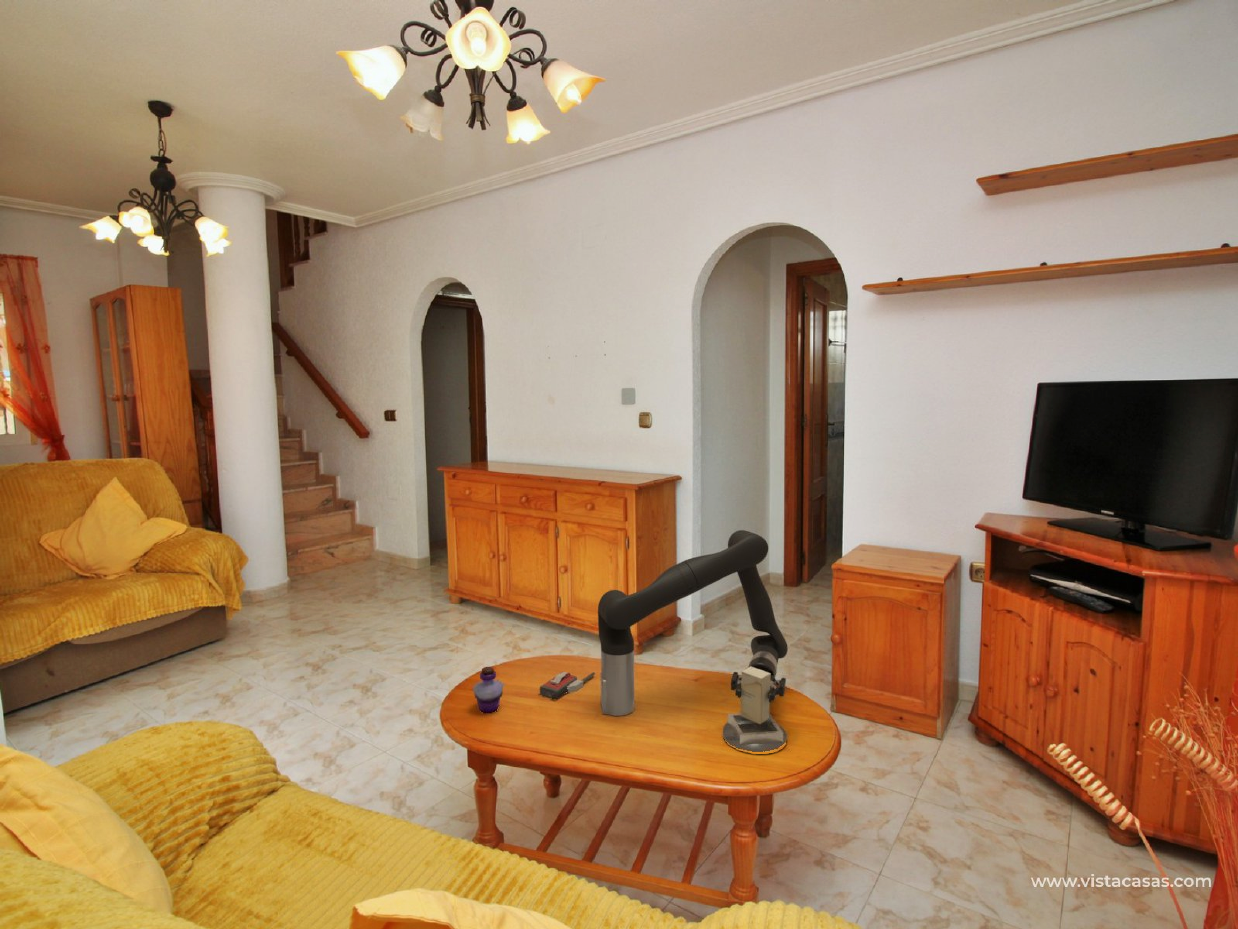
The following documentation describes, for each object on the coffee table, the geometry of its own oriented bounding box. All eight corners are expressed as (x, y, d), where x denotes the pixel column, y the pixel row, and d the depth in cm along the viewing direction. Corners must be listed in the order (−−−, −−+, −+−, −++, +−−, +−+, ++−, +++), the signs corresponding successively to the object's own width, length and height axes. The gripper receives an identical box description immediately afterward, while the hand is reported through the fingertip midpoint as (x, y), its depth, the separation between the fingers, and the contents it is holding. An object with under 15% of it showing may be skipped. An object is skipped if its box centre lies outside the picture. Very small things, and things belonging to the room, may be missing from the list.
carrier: (732, 757, 160) (732, 741, 159) (716, 724, 176) (716, 710, 175) (796, 752, 161) (796, 737, 161) (774, 720, 177) (774, 706, 177)
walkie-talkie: (560, 704, 188) (597, 678, 206) (560, 689, 188) (597, 664, 205) (535, 697, 193) (573, 672, 210) (535, 683, 192) (573, 659, 210)
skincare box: (739, 716, 169) (740, 671, 167) (749, 710, 172) (750, 665, 170) (760, 725, 164) (761, 678, 163) (770, 718, 167) (771, 672, 166)
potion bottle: (510, 706, 187) (509, 665, 186) (491, 719, 179) (490, 677, 178) (486, 699, 191) (485, 660, 190) (466, 712, 183) (465, 671, 182)
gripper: (736, 653, 183) (725, 678, 167) (789, 659, 178) (783, 686, 163) (736, 679, 184) (725, 707, 168) (789, 686, 179) (783, 715, 163)
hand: (754, 696), depth 165 cm, fingers closed on skincare box, 7 cm apart
